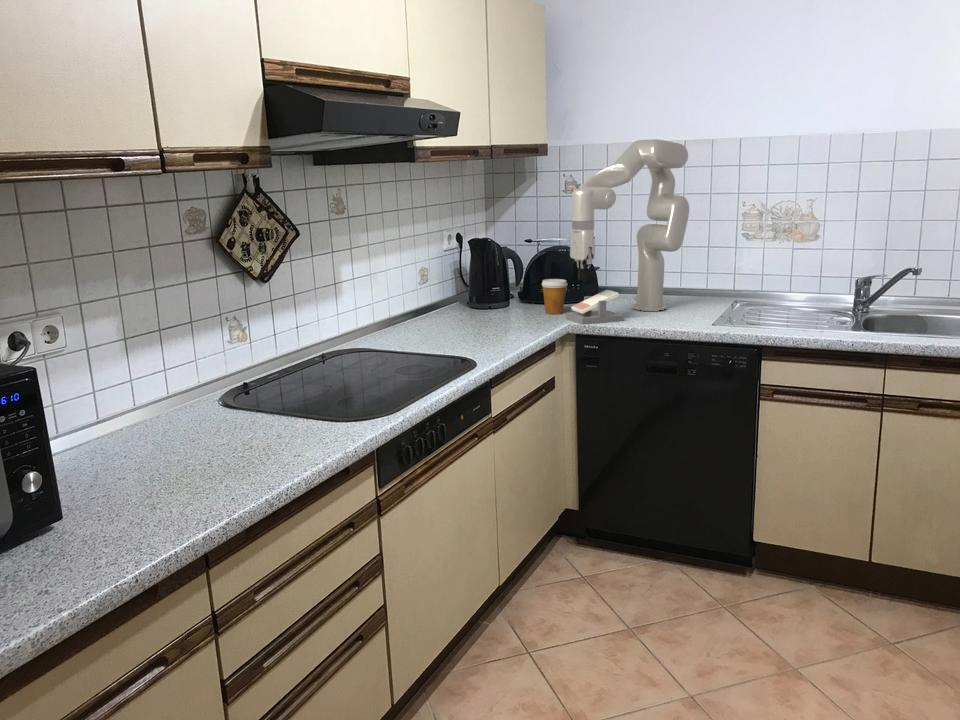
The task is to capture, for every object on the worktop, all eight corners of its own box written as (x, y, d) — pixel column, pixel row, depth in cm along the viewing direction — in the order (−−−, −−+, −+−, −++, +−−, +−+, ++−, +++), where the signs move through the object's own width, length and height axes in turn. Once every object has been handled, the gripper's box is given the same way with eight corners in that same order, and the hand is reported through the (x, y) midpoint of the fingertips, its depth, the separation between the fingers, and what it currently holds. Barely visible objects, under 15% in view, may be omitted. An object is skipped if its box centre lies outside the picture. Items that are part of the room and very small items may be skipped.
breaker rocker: (571, 309, 275) (570, 306, 275) (607, 292, 279) (606, 289, 278) (583, 313, 267) (581, 310, 267) (619, 295, 271) (618, 292, 270)
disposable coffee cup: (571, 312, 290) (572, 279, 287) (559, 316, 282) (560, 282, 279) (548, 309, 295) (548, 278, 292) (536, 313, 287) (536, 281, 284)
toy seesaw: (566, 318, 277) (566, 297, 275) (606, 315, 282) (606, 294, 281) (582, 324, 266) (582, 302, 264) (623, 321, 272) (624, 299, 270)
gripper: (563, 225, 270) (563, 277, 275) (583, 228, 257) (583, 283, 261) (582, 223, 273) (582, 276, 278) (603, 226, 259) (603, 281, 264)
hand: (583, 279), depth 270 cm, fingers closed
